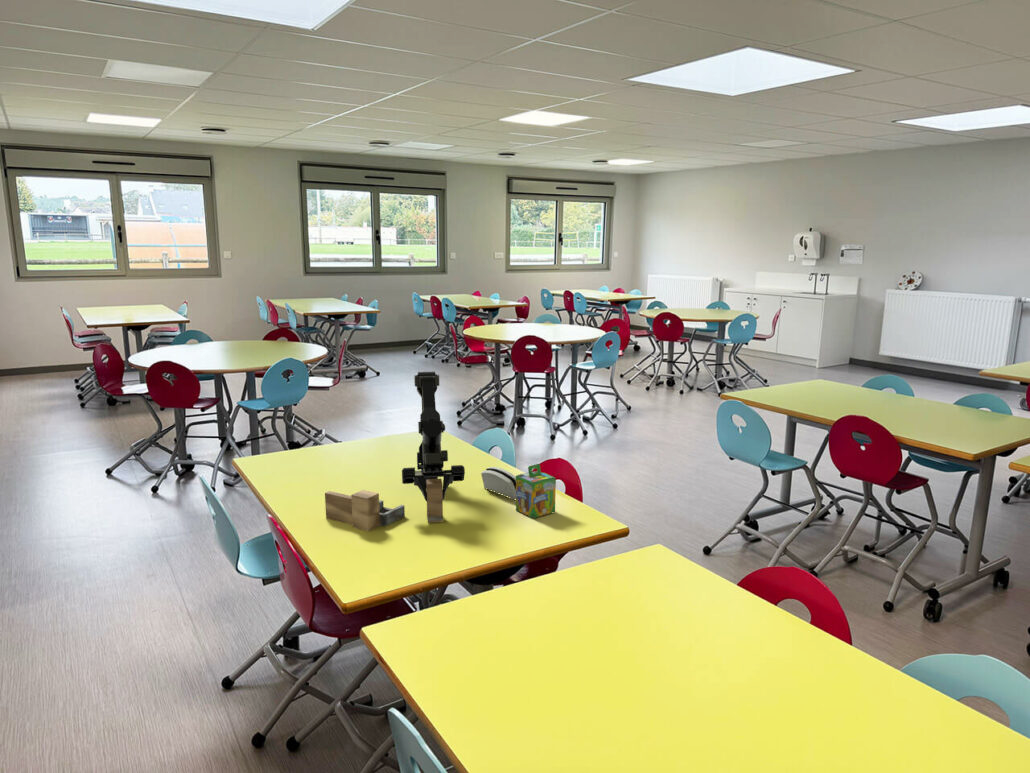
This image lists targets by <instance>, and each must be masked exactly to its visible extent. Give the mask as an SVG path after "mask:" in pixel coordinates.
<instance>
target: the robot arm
mask: <svg viewBox="0 0 1030 773" xmlns="http://www.w3.org/2000/svg"><path fill="white" fill-rule="evenodd" d="M439 386H440V374H436V371H417V374H416V375H414V387H415V388H416V392H417V393H418V395H419V396H420V398H421V413H420V418H419V419H420V420H419V421H418V422H417V426H418V429H417V430H418V434H420V436H422V441H421V443H420V444H419V447H418V451H417V452H416V467H403V468H402V469H401V481H402V482H401V484H404V485H409V484H413V485H414V486H416V487H418V489H419V490H420V492H421V494H422V496H423V498H424V500H425V502H427V491H426V479H439V478H442V477H443V479H442V496H443V501H444V500H445V497H446V493H447V490H448V488H449V486H450V485H451V484H453V483H454V482H462V481H465V474H466V471H465V469H466V468H465V466H464V465H462V464H457V465H456V464H455V465H454V464H453V465H451V466H450V469H445V470H444V465H445V464H444V462H448V461H449V454H448V453H449V452H448V449H445V450H444V449H443V450H442V444H441V441H442V435H443V434H442V433H444V432H445V431H446V425H445V423H444V422H443V420H441V414H440V412H439V411H438V410H437V407H436V406H437V405H436V396H435V394H436V392H437V390H438V387H439ZM416 468H417V469H416Z"/></svg>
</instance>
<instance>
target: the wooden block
mask: <svg viewBox="0 0 1030 773" xmlns="http://www.w3.org/2000/svg"><path fill="white" fill-rule="evenodd" d="M442 490H443V479H442V478H438V479H426V492H427V501H426V520H427V524H431V523H433V524H434V523H444V511H443V510H444V509H443V507H444V506H443V505H444V504H443V503H444V502H443V501H444V500H443V496H442Z"/></svg>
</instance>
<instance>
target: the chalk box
mask: <svg viewBox="0 0 1030 773" xmlns="http://www.w3.org/2000/svg"><path fill="white" fill-rule="evenodd" d="M534 469H535V470H534ZM527 470H528V472H525V473H520V474H517V475H515V476H516V501H515V511H516V510H517V511H516V512H518V511H519V513H520V512H521V513H520V514H523V515H525V516H527V515H528V517H529V516H530V517H529V518H531V517H532V519H536V517H537V518H539V516H540V517H543V516H542V515H544V516H546V515H545V514H548V515H550V514H549V513H551V514H553V513H552V512H555V513H556V486H557V485H556V482H557V481H556V480H557V479H556V477H554V476H553V475H550V474H548V473H546V472H542V470H541V465H540V463H536V464H533V465H528V467H527ZM533 470H534V471H533Z"/></svg>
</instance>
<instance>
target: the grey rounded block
mask: <svg viewBox="0 0 1030 773" xmlns="http://www.w3.org/2000/svg"><path fill="white" fill-rule="evenodd" d="M480 474H481V479H482V483H483V487H484V488H483V489H485V488H487V489H489V490H488V491H490V490H492V491H495V492H497V493H500V494H503V495H505V496H508V497H510V498H513V499H516V476H517V475H515V474H513V473H512V472H509V471H508V470H506V469H504V468H502V467H498V466H490V467H487V468H486V469H485V470H483V471H481V473H480ZM487 489H486V490H487ZM492 491H491V492H492ZM495 492H494V493H495ZM497 493H496V494H497ZM500 494H499V495H500ZM505 496H504V497H505ZM508 497H507V498H508ZM510 498H509V499H510ZM513 499H512V500H513Z"/></svg>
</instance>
